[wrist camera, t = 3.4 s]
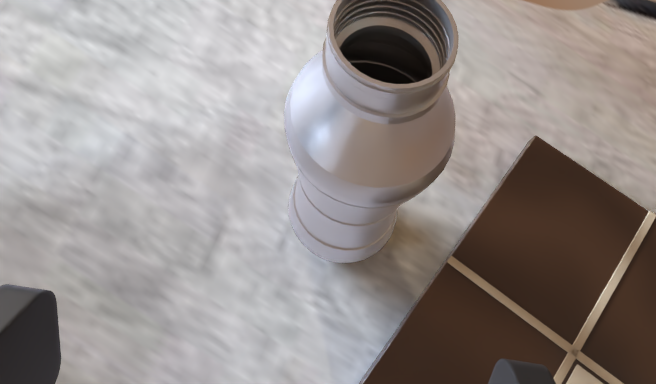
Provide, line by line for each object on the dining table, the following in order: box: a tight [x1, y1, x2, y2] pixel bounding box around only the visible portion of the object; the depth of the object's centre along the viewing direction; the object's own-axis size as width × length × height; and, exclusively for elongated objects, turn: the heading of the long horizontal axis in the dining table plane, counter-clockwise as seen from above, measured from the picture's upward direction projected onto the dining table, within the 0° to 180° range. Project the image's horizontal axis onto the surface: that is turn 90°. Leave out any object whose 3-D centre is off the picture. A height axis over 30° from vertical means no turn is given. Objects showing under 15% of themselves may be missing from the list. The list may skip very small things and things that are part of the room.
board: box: [359, 136, 656, 384], centre depth 30 cm, size 22×18×1 cm
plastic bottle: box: [284, 0, 458, 263], centre depth 23 cm, size 6×7×20 cm
